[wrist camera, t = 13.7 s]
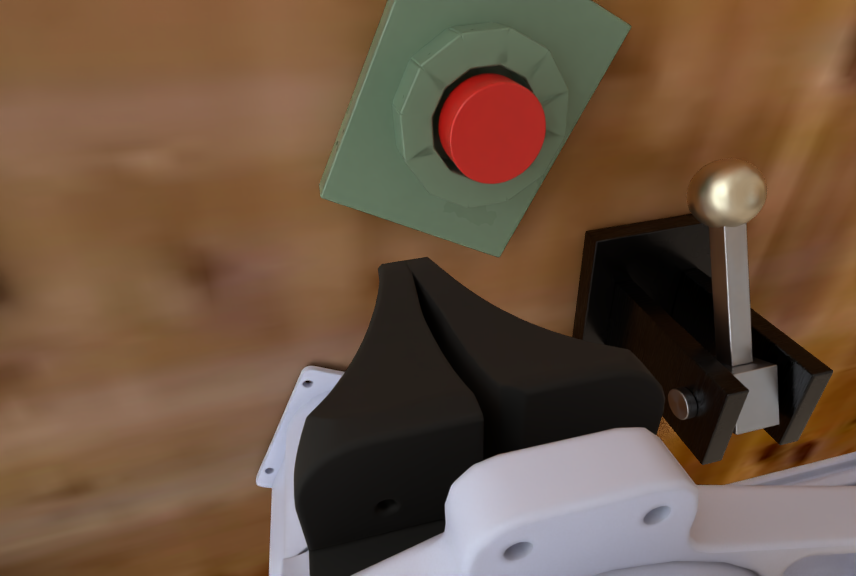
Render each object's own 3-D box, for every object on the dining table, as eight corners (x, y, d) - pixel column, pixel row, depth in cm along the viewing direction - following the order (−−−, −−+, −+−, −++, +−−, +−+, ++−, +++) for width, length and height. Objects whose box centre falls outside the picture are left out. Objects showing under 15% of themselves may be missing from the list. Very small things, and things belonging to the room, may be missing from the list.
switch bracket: (585, 230, 27) (712, 348, 19) (720, 208, 28) (895, 309, 20) (567, 372, 32) (659, 510, 24) (681, 348, 33) (805, 472, 25)
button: (499, 181, 21) (515, 197, 19) (422, 149, 19) (432, 164, 18) (545, 96, 19) (565, 107, 18) (464, 55, 18) (479, 63, 17)
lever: (669, 167, 23) (718, 159, 20) (728, 158, 23) (784, 149, 21) (686, 414, 25) (733, 440, 22) (741, 401, 25) (793, 425, 22)
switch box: (490, 245, 26) (512, 277, 23) (318, 185, 22) (322, 216, 20) (614, 22, 21) (659, 31, 19) (423, -98, 18) (446, -108, 15)
